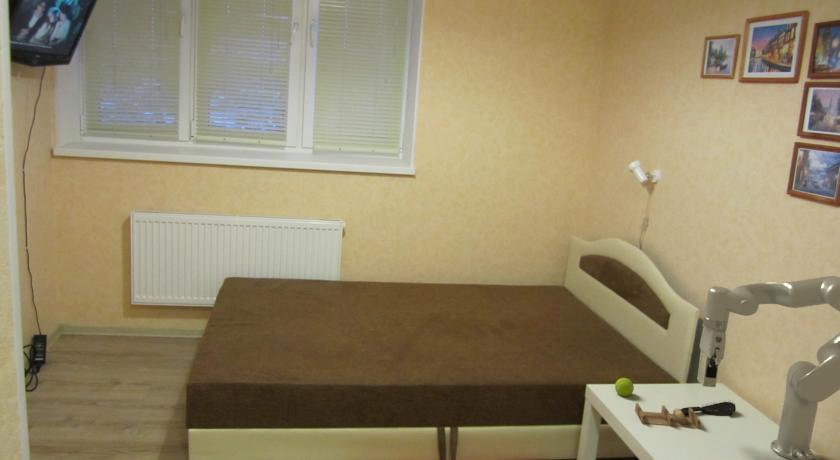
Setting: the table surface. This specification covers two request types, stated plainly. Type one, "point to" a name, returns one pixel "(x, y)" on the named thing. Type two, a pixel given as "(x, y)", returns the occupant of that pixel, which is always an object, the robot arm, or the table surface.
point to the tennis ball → (624, 387)
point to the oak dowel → (680, 416)
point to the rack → (667, 418)
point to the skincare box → (702, 371)
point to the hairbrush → (722, 408)
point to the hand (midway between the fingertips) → (706, 372)
